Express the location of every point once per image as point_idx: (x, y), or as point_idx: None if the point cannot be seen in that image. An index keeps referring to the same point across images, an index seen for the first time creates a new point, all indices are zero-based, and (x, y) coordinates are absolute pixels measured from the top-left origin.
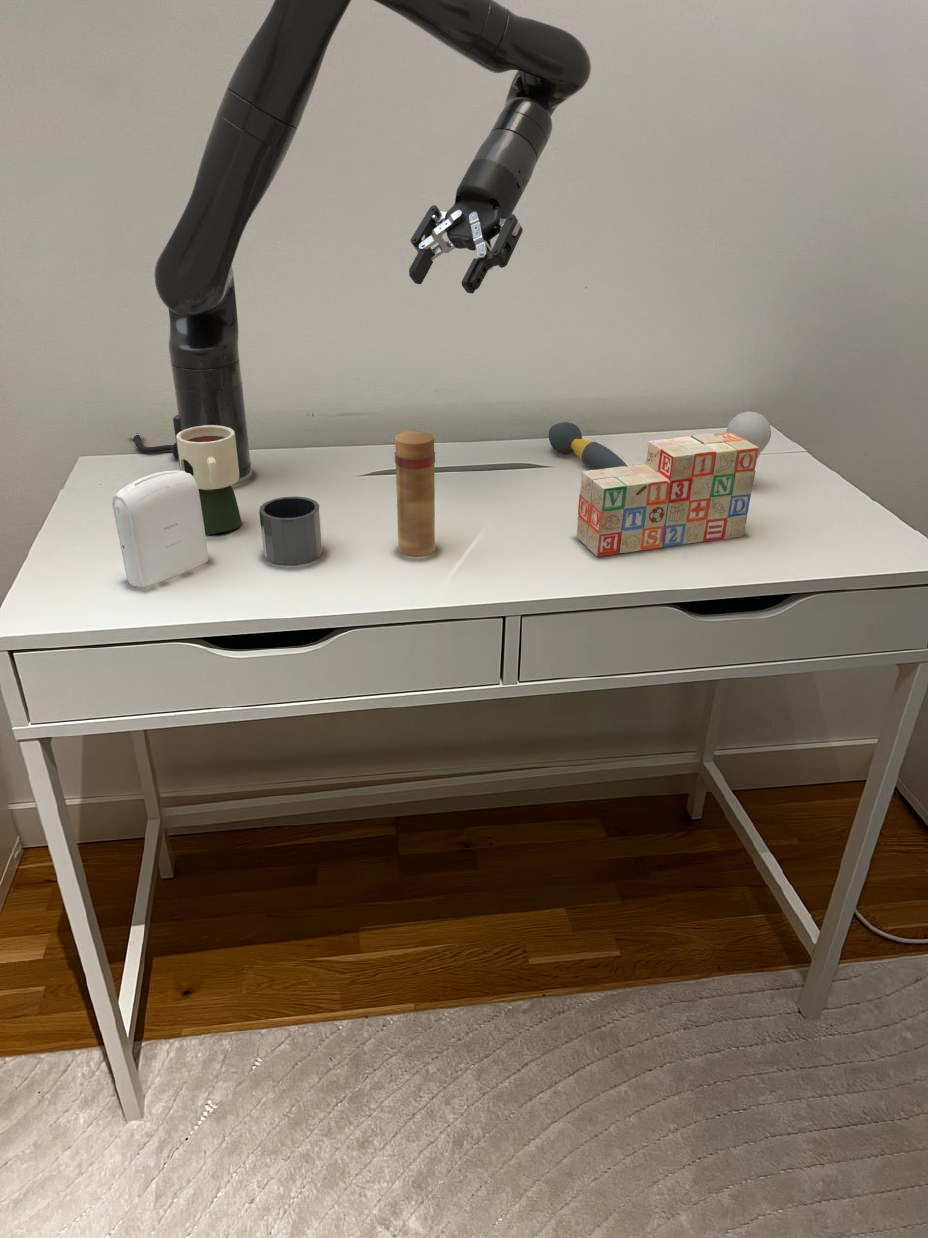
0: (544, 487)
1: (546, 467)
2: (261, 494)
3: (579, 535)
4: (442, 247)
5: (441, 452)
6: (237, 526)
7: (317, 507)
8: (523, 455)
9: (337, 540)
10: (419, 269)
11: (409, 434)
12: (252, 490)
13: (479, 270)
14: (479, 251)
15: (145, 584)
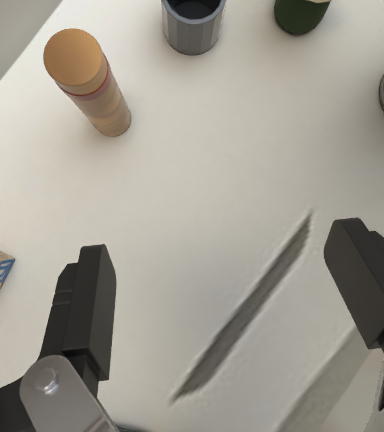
0: (133, 344)
1: (174, 395)
2: (343, 99)
3: (6, 256)
4: (377, 413)
5: (301, 338)
6: (276, 16)
7: (172, 13)
8: (222, 406)
9: (190, 81)
10: (348, 257)
11: (86, 59)
12: (359, 98)
13: (50, 314)
14: (64, 387)
15: None
